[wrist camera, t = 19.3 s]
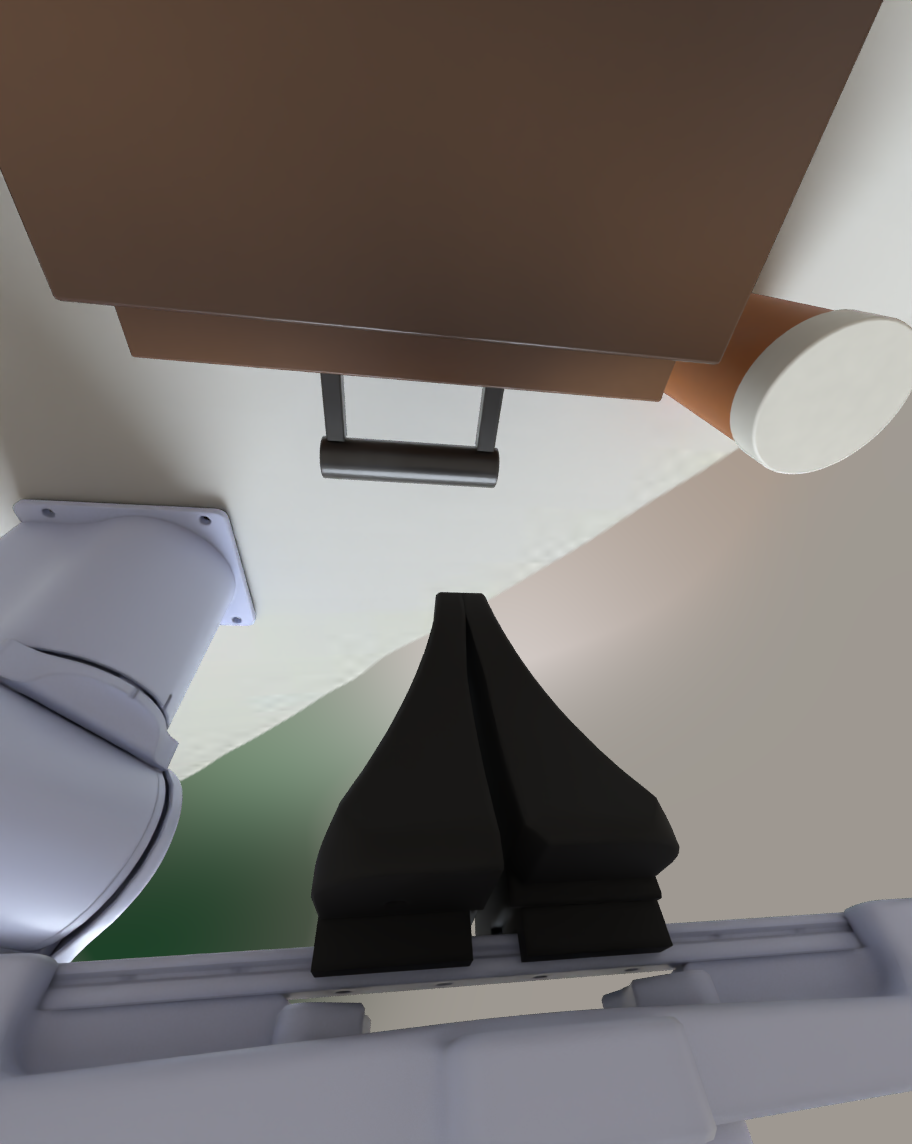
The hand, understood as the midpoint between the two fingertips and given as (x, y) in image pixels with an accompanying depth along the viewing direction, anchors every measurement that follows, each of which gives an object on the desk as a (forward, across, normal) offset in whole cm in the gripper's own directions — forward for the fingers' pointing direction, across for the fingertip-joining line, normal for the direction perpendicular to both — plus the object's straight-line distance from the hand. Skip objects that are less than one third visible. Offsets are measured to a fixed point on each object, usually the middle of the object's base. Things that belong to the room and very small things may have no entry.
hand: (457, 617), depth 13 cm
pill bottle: (+10, -10, -6) cm, 16 cm away
